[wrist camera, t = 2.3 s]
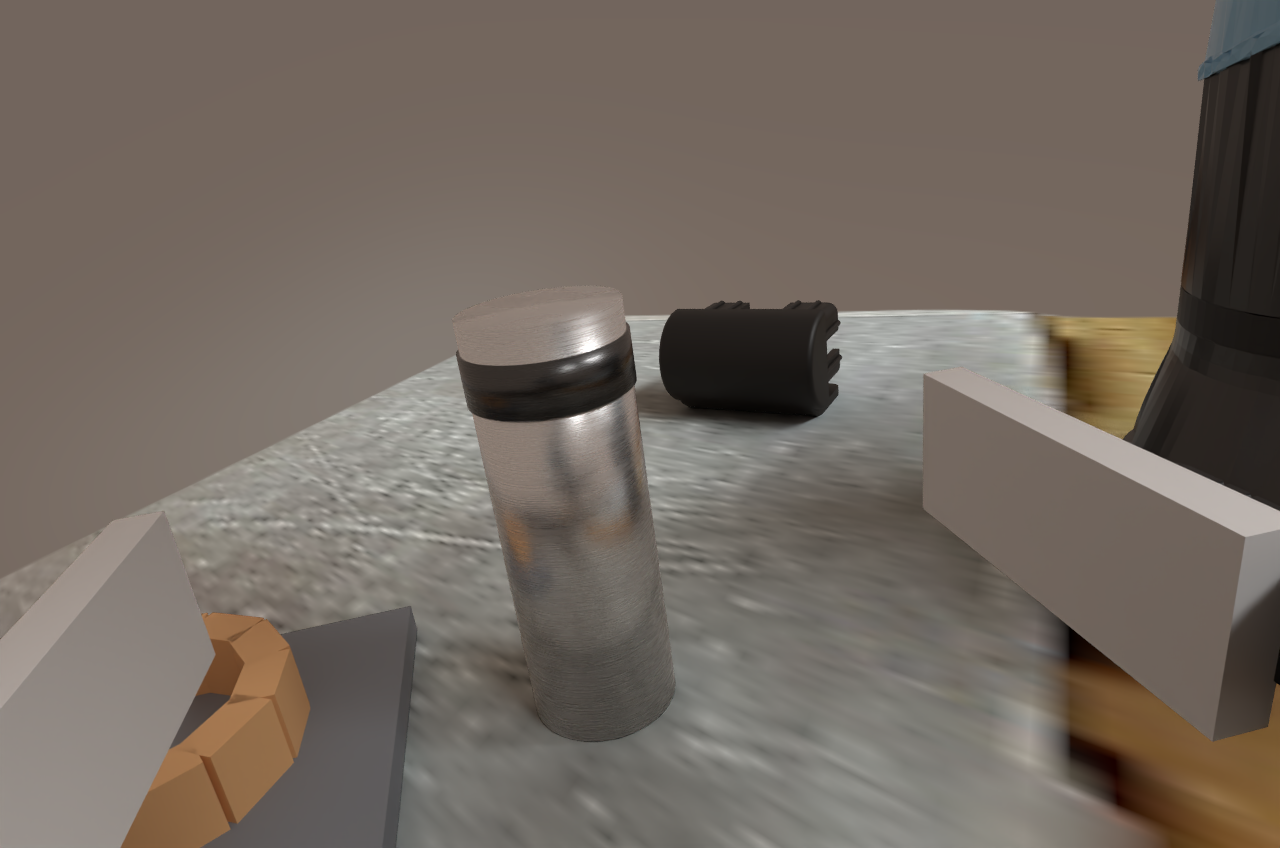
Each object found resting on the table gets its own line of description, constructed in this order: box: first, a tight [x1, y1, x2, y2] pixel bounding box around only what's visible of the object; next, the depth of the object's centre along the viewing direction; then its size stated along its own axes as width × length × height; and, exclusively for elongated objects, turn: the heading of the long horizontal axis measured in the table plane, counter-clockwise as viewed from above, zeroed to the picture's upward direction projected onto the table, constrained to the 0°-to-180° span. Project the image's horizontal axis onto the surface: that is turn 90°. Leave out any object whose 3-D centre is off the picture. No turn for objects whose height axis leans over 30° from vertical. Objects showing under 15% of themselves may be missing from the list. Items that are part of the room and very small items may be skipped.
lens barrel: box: [452, 286, 675, 741], centre depth 26 cm, size 5×5×14 cm
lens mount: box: [120, 606, 417, 848], centre depth 26 cm, size 16×13×4 cm
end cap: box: [659, 300, 842, 416], centre depth 52 cm, size 10×7×7 cm
